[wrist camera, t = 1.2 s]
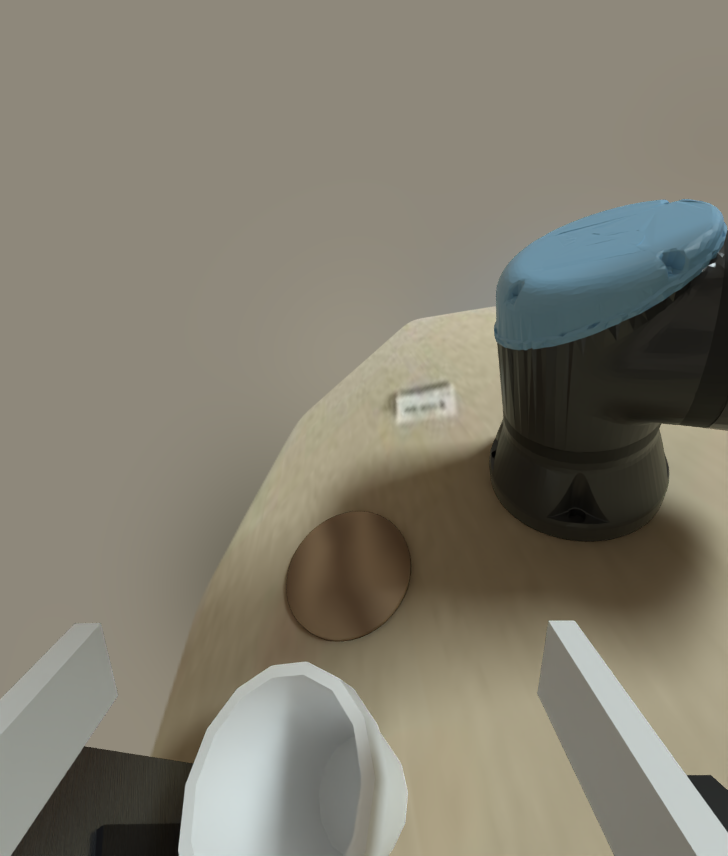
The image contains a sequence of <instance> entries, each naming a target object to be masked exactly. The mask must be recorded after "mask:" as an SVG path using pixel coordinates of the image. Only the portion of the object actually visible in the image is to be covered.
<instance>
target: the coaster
mask: <svg viewBox="0 0 728 856" xmlns="http://www.w3.org/2000/svg"><path fill="white" fill-rule="evenodd" d="M410 573H411V561H410V554H409V550H408V547H407V545H406V542H405V540H404V538H403V536H402V534H401V533H400V531H399V530H398V529H397V528H396V526H395V525H393V524H392V523H391V522H390V521H389V520H387V519H386V518H384V517H382V516H380V515H377V514H374V513H371V512H365V511H354V512H347V513H343V514H340V515H336V516H334V517H332V518H330V519H328V520H326V521H324V522H323V523H321V524H320V525H318V526H317V527H316V528H315V529H314V530H312V531H311V532H310V533H309V534H308V535H307V536H306V538H305V539H304V540H303V541H302V543H301V544H300V546H299V547H298V549H297V550H296V552H295V554H294V556H293V558H292V561H291V564H290V566H289V570H288V575H287V589H286V590H287V598H288V602H289V606H290V608H291V610H292V613H293V614H294V616H295V618H296V619H297V620H298V622H299V623H300V624H301V625H302V626H303V627H304V628H306V629H307V630H308V631H309V632H311V633H312V634H314V635H316V636H317V637H320V638H323V639H326V640H331V641H347V640H353V639H357V638H360V637H363V636H365V635H367V634H369V633H371V632H373V631H374V630H376V629H377V628H379V627H380V626H381V625H382V624H384V623H385V622H386V621H387V620H388V619H389V618H390V617H391V616H392V615H393V613H394V612H395V611H396V609H397V608H398V607H399V605H400V603H401V601H402V600H403V598H404V595H405V593H406V590H407V587H408V584H409V580H410Z"/></svg>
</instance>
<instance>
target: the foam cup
mask: <svg viewBox="0 0 728 856" xmlns="http://www.w3.org/2000/svg"><path fill="white" fill-rule="evenodd" d="M407 798H408V790H407V786H406V781H405V777H404V773H403V768H402V764H401V763H400V761H399V760H398V758H397V756H396V755H395V753H394V752H393V750H392V749H391V747H390V746H389V744H388V743H387V741H386V740H385V738H384V737H383V735H382V734H381V733H380V731H379V727H378V724H377V723H376V721H375V720H374V718H373V717H372V715H371V714H370V712H369V711H368V709H367V708H366V706H365V705H364V703H363V702H362V700H361V699H360V697H359V695H358V694H357V692H356V691H355V689H354V688H352V687H351V686H349V685H348V684H347V683H345V682H344V681H342V680H341V679H340V678H338V677H336V676H334V675H332V674H330V673H328V672H326V671H324V670H322V669H320V668H319V667H317V666H315V665H313V664H311V663H309V662H298V663H289V664H280V665H272V666H270V667H269V668H267V669H266V670H264V671H263V672H261V673H260V674H258V675H257V676H255V677H254V678H252V679H251V680H249V681H248V682H246V683H245V684H243V685H242V686H240V687H239V688H237V689H236V691H235V692H234V693H233V695H232V696H231V697H230V699H229V700H228V701H227V703H226V704H225V705H224V707H223V708H222V710H221V711H220V712H219V714H218V715H217V716H216V718H215V719H214V720H213V722H212V723H211V724H210V726H209V727H208V728H207V730H206V733H205V735H204V738H203V741H202V743H201V746H200V748H199V751H198V754H197V756H196V759H195V761H194V764H193V766H192V769H191V772H190V774H189V777H188V779H187V782H186V784H185V793H184V802H183V811H182V820H181V829H180V838H179V847H178V853H179V856H388V855H389V854H390V853H391V852H392V850H393V848H394V846H395V844H396V842H397V840H398V838H399V835H400V833H401V831H402V829H403V827H404V825H405V821H406V809H407Z"/></svg>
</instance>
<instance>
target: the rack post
mask: <svg viewBox="0 0 728 856" xmlns="http://www.w3.org/2000/svg"><path fill="white" fill-rule="evenodd" d="M192 766H193V764H192V763H186V762H180V761H173V760H167V759H161V758H154V757H148V756H142V755H135V754H129V753H122V752H116V751H110V750H104V749H97V748H91V747H85V746H84V747H83V749H82V750H81V752H80V753H79V755H78V756H77V758H76V759H75V761H74V762H73V764H72V765H71V767H70V768H69V770H68V771H67V773H66V774H65V776H64V777H63V779H62V780H61V781H60V783H59V784H58V786H57V787H56V789H55V790H54V792H53V793H52V795H51V796H50V798H49V799H48V801H47V802H46V804H45V805H44V807H43V808H42V810H41V811H40V813H39V814H38V816H37V817H36V819H35V820H34V822H33V823H32V825H31V826H30V828H29V829H28V831H27V832H26V834H25V835H24V837H23V838H22V840H21V841H20V843H19V844H18V845H17V847H16V848H15V850H14V851H13V853H12V854H11V856H179V853H178V847H179V838H180V829H181V820H182V811H183V802H184V793H185V784H186V782H187V779H188V777H189V774H190V772H191V769H192Z"/></svg>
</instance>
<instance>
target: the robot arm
mask: <svg viewBox="0 0 728 856" xmlns="http://www.w3.org/2000/svg"><path fill="white" fill-rule="evenodd" d="M494 335H495V339H496V342H497V345H498V357H499V368H500V380H501V392H502V403H503V416H504V418H503V420H502V423H501V425H500V428H499V430H498V433H497V435H496V438H495V440H494V443H493V445H492V448H491V452H490V459H489V467H490V475H491V482H492V485H493V489H494V491H495V493H496V495H497V497H498V499H499V500H500V502H501V503H502V504H503V506H504V507H505V508H506V509H507V510H508V511H509V512H510V513H511V514H512V515H513V516H515V517H516V518H517V519H519V520H520V521H521V522H523V523H524V524H526V525H528V526H530V527H531V528H534V529H536V530H538V531H540V532H542V533H545V534H548V535H551V536H554V537H558V538H563V539H568V540H575V541H602V540H609V539H614V538H618V537H621V536H624V535H627V534H629V533H632V532H634V531H636V530H637V529H639V528H641V527H642V526H644V525H645V524H646V523H647V522H649V521H650V520H651V519H652V518H653V517H654V515H655V514H656V513H657V511H658V510H659V508H660V506H661V503H662V501H663V499H664V496H665V493H666V491H667V488H668V483H669V466H668V462H667V459H666V456H665V454H664V448H663V443H662V439H661V434H660V430H659V428H660V425H661V423H663V424H672V425H684V426H693V427H702V428H710V429H719V430H727V431H728V231H727V226H726V224H725V222H724V219H723V215H722V213H721V212H720V211H719V209H718V208H716V207H715V206H713V205H711V204H709V203H706V202H703V201H696V200H689V199H682V200H679V201H676V202H672V203H669V202H668V201H667V200H656V201H648V202H641V203H636V204H630V205H626V206H622V207H617V208H613V209H610V210H606V211H603V212H599V213H596V214H593V215H590V216H588V217H584V218H582V219H579V220H576V221H574V222H571V223H569V224H567V225H565V226H562V227H560V228H558V229H556V230H553V231H552V232H550V233H548V234H546V235H545V236H543V237H541V238H539V239H537V240H536V241H534V242H533V243H531V244H530V245H528V246H527V247H526V248H524V249H523V250H522V251H521V252H519V253H518V254H517V255H516V256H515V257H514V258H513V259H512V260H511V261H510V262H509V264H508V265H507V266H506V267H505V269H504V271H503V272H502V274H501V276H500V278H499V281H498V285H497V290H496V323H495V325H494ZM537 694H538V696H539V698H540V700H541V702H542V704H543V707H544V709H545V711H546V713H547V715H548V717H549V719H550V721H551V723H552V725H553V728H554V730H555V732H556V734H557V736H558V738H559V740H560V742H561V744H562V747H563V749H564V751H565V753H566V755H567V757H568V759H569V761H570V763H571V765H572V768H573V770H574V772H575V774H576V776H577V778H578V780H579V782H580V784H581V787H582V789H583V791H584V793H585V795H586V797H587V799H588V801H589V803H590V805H591V808H592V810H593V812H594V814H595V816H596V818H597V820H598V822H599V824H600V826H601V829H602V831H603V833H604V835H605V837H606V839H607V841H608V843H609V845H610V848H611V850H612V852H613V854H614V856H728V790H727V789H726V788H725V787H723V786H722V785H721V784H720V783H719V782H718V781H717V780H716V779H715V778H713V777H712V776H711V775H686V774H685V773H684V771H683V770H682V769H681V767H680V766H679V764H678V763H677V762H676V760H675V759H674V757H673V756H672V755H671V753H670V752H669V751H668V749H667V748H666V746H665V745H664V744H663V742H662V741H661V739H660V738H659V737H658V735H657V734H656V733H655V731H654V730H653V728H652V727H651V726H650V724H649V723H648V721H647V720H646V719H645V717H644V716H643V715H642V713H641V712H640V710H639V709H638V708H637V706H636V705H635V703H634V702H633V701H632V699H631V698H630V697H629V695H628V694H627V692H626V691H625V690H624V688H623V687H622V685H621V684H620V683H619V681H618V680H617V679H616V677H615V676H614V674H613V673H612V672H611V670H610V669H609V667H608V666H607V665H606V663H605V662H604V661H603V659H602V658H601V656H600V655H599V654H598V652H597V651H596V649H595V648H594V647H593V645H592V644H591V643H590V641H589V640H588V638H587V637H586V636H585V634H584V633H583V631H582V630H581V629H580V627H579V626H578V625H577V623H576V622H575V621H548V627H547V633H546V640H545V647H544V653H543V660H542V666H541V673H540V680H539V686H538V693H537ZM117 697H118V693H117V688H116V684H115V680H114V676H113V671H112V667H111V663H110V659H109V655H108V651H107V646H106V643H105V638H104V634H103V629H102V625H101V623H75V624H74V625H73V626H72V627H71V628H70V629H69V630H68V631H67V632H66V633H65V634H64V635H63V636H62V637H61V638H60V639H59V640H58V641H57V642H56V643H55V644H54V645H53V646H52V647H51V648H50V649H49V650H48V651H47V652H46V653H45V654H44V655H43V656H42V657H41V658H40V659H39V660H38V661H37V662H36V663H35V664H34V665H33V666H32V667H31V668H30V669H29V670H28V672H27V673H25V674H24V675H23V676H22V678H21V679H19V681H18V682H17V683H16V684H15V685H14V686H13V687H12V688H11V689H10V690H9V691H8V692H7V693H6V694H5V695H4V696H3V697H2V698H1V699H0V856H11V854H12V853H13V851H14V850H15V848H16V847H17V845H18V844H19V843H20V841H21V840H22V838H23V837H24V835H25V834H26V832H27V831H28V829H29V828H30V826H31V825H32V823H33V822H34V820H35V819H36V817H37V816H38V814H39V813H40V811H41V810H42V808H43V807H44V805H45V804H46V802H47V801H48V799H49V798H50V796H51V795H52V793H53V792H54V790H55V789H56V787H57V786H58V784H59V783H60V781H61V780H62V779H63V777H64V776H65V774H66V773H67V771H68V770H69V768H70V767H71V765H72V764H73V762H74V761H75V759H76V758H77V756H78V755H79V753H80V752H81V750H82V749H83V747H84V746H85V744H86V743H87V741H88V740H89V738H90V737H91V735H92V734H93V732H94V731H95V729H96V728H97V726H98V725H99V723H100V722H101V720H102V719H103V717H104V716H105V714H106V713H107V711H108V710H109V708H110V707H111V706H112V704H113V703H114V701H115V700H116V698H117Z"/></svg>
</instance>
